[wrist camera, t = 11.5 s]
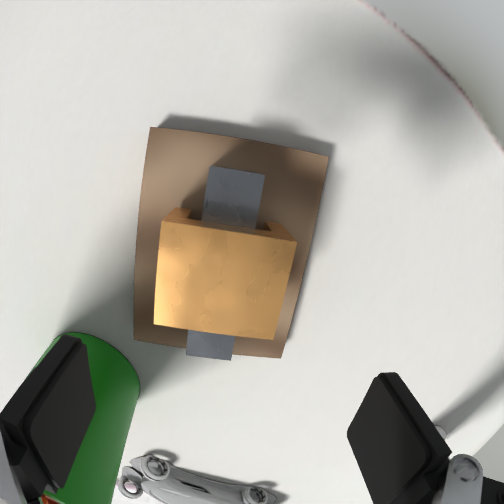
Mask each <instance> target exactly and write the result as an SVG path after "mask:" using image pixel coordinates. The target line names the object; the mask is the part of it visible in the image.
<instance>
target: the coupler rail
mask: <svg viewBox="0 0 504 504" xmlns="http://www.w3.org/2000/svg"><path fill="white" fill-rule="evenodd" d="M264 178H265V175H264V174H261V173H259V172H254V171H248V170H242V169H236V168H230V167H223V166H217V165H211V166H210V167H209V173H208V179H207V185H206V192H205V198H204V205H203V212H202V219H201V221H207V222H214V223H220V224H226V225H233V226H239V227H245V228H252V229H255V227H256V222H257V216H258V211H259V205H260V200H261V195H262V189H263V184H264ZM234 341H235V336H232V335H224V334H216V333H209V332H202V331H195V330H188V338H187V350H186V355H190V356H197V357H205V358H213V359H222V360H231V357H232V352H233V347H234Z"/></svg>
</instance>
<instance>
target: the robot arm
mask: <svg viewBox="0 0 504 504" xmlns="http://www.w3.org/2000/svg"><path fill="white" fill-rule="evenodd" d="M95 410H96V402H95V397H94V391H93V386H92V380H91V374H90V367H89V360H88V352H87V346H86V344H83V343H82V340H81V339H80V338H78V337H74V336H71V335H67V334H63V335H62V336H61V337H60V339H59V340H58V341H57V342H56V343H55V345H54V346H53V347H52V348H51V350H50V351H49V352H48V353H47V354H46V356H45V357H44V358H43V359H42V361H41V362H40V363H39V365H38V366H37V367H35V368H34V369H33V370H32V371H31V373H30V374H29V375H28V377H27V378H26V379H25V380H24V382H23V383H22V384H21V386H20V387H19V388H18V390H17V391H16V392H15V394H14V395H13V396H12V398H11V399H10V401H9V402H8V403H7V405H6V406H5V408H4V409H3V410H2V412H1V413H0V504H43V501H42V499H41V497H42V494H43V492H44V490H46V491H49V492H51V493H53V494H57V491H58V489H59V488H60V489H62V488H64V486H65V484H66V481H67V479H68V476H69V473H70V471H71V468H72V466H73V463H74V461H75V458H76V456H77V453H78V451H79V448H80V446H81V444H82V441H83V439H84V437H85V434H86V432H87V430H88V427H89V425H90V423H91V420H92V418H93V416H94V413H95ZM445 437H446V433H445V432H444V430H443V429H442V428H441V427H439V426H434V424H433V423H432V422H431V420H430V419H429V417H428V416H427V414H426V413H425V411H424V410H423V409H422V407H421V406H420V404H419V403H418V401H417V400H416V399H415V397H414V396H413V394H412V393H411V392H410V390H409V389H408V387H407V386H406V385H405V383H404V382H403V380H402V379H401V378H400V376H399V375H398V374H397V373H395V372H389V373H380V374H379V375H378V376H377V377H375V378H374V379H373V381H372V383H371V385H370V387H369V389H368V392H367V394H366V396H365V398H364V400H363V402H362V403H361V405H360V407H359V409H358V411H357V413H356V415H355V417H354V419H353V421H352V422H351V424H350V426H349V428H348V430H347V438H348V440H349V443H350V445H351V448H352V450H353V453H354V455H355V458H356V460H357V463H358V465H359V468H360V470H361V473H362V476H363V478H364V481H365V483H366V486H367V488H368V491H369V493H370V496H371V498H372V501H373V504H504V483H502V482H499V481H495V480H492V479H489V478H486V477H483V469H482V467H481V465H480V463H479V462H478V461H477V460H476V459H475V458H474V457H472V456H470V455H466V454H458V455H456V456H454V457H453V458H452V459H450V458H449V455H450V454H451V453H452V451H451V450H450V448H449V447H448V445H447V444H446V442H445V441H444V440H445Z"/></svg>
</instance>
